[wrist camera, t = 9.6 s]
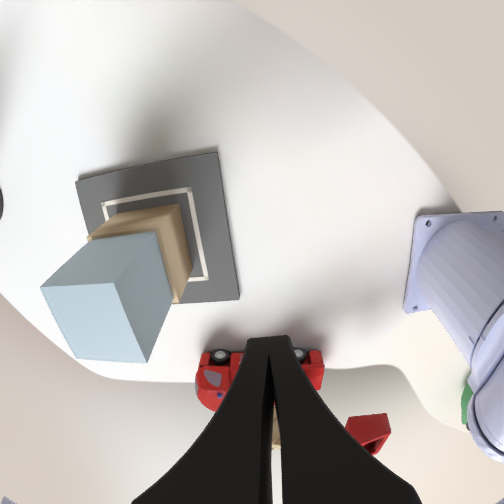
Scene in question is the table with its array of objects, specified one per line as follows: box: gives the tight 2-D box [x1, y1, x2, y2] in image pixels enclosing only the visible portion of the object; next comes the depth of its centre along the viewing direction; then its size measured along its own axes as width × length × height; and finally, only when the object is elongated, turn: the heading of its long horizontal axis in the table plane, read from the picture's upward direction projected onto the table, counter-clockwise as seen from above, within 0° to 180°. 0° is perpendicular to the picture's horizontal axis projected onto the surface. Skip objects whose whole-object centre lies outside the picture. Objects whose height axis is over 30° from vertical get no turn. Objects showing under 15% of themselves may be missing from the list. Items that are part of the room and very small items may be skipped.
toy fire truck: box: [195, 348, 391, 455], centre depth 19 cm, size 3×14×10 cm, turn 92°
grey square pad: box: [75, 152, 240, 304], centre depth 19 cm, size 10×10×1 cm
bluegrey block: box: [40, 231, 174, 363], centre depth 13 cm, size 4×4×5 cm
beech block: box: [87, 204, 193, 303], centre depth 17 cm, size 4×4×4 cm
